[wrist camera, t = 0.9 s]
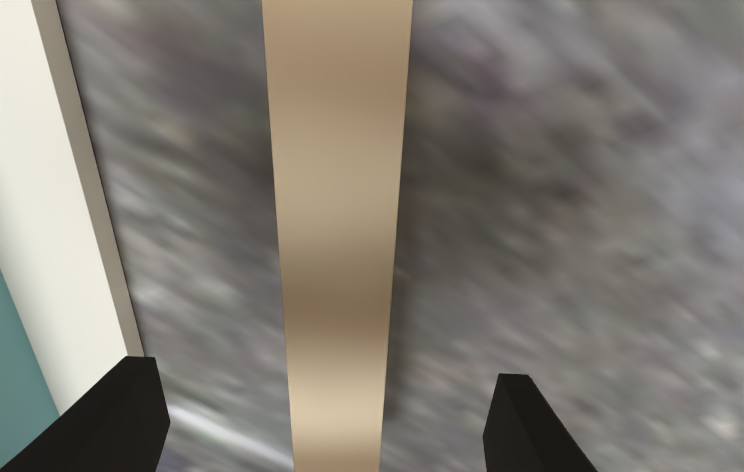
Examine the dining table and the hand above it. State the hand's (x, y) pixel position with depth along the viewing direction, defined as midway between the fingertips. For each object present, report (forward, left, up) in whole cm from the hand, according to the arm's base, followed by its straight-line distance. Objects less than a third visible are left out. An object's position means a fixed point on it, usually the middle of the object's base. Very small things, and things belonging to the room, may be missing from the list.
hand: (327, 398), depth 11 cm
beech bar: (0, 0, -7) cm, 7 cm away
